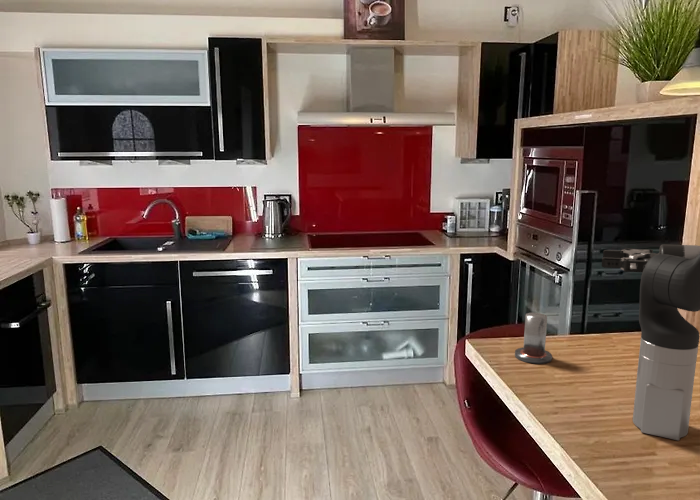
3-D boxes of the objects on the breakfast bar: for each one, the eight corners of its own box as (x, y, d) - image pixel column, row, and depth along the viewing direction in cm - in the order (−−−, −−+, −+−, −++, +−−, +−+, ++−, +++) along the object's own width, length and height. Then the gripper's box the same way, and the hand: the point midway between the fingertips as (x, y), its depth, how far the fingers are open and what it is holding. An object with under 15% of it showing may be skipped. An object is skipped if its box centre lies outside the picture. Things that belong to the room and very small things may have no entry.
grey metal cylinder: (542, 358, 132) (545, 320, 130) (521, 354, 134) (523, 316, 133) (546, 351, 136) (548, 314, 134) (525, 348, 139) (527, 311, 137)
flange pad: (548, 366, 129) (548, 362, 129) (511, 359, 134) (511, 355, 134) (554, 354, 137) (554, 350, 137) (518, 348, 141) (519, 344, 141)
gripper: (682, 239, 121) (604, 237, 128) (688, 251, 109) (602, 248, 116) (680, 271, 122) (602, 267, 130) (686, 286, 110) (600, 281, 117)
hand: (602, 258), depth 123 cm, fingers open, 8 cm apart
